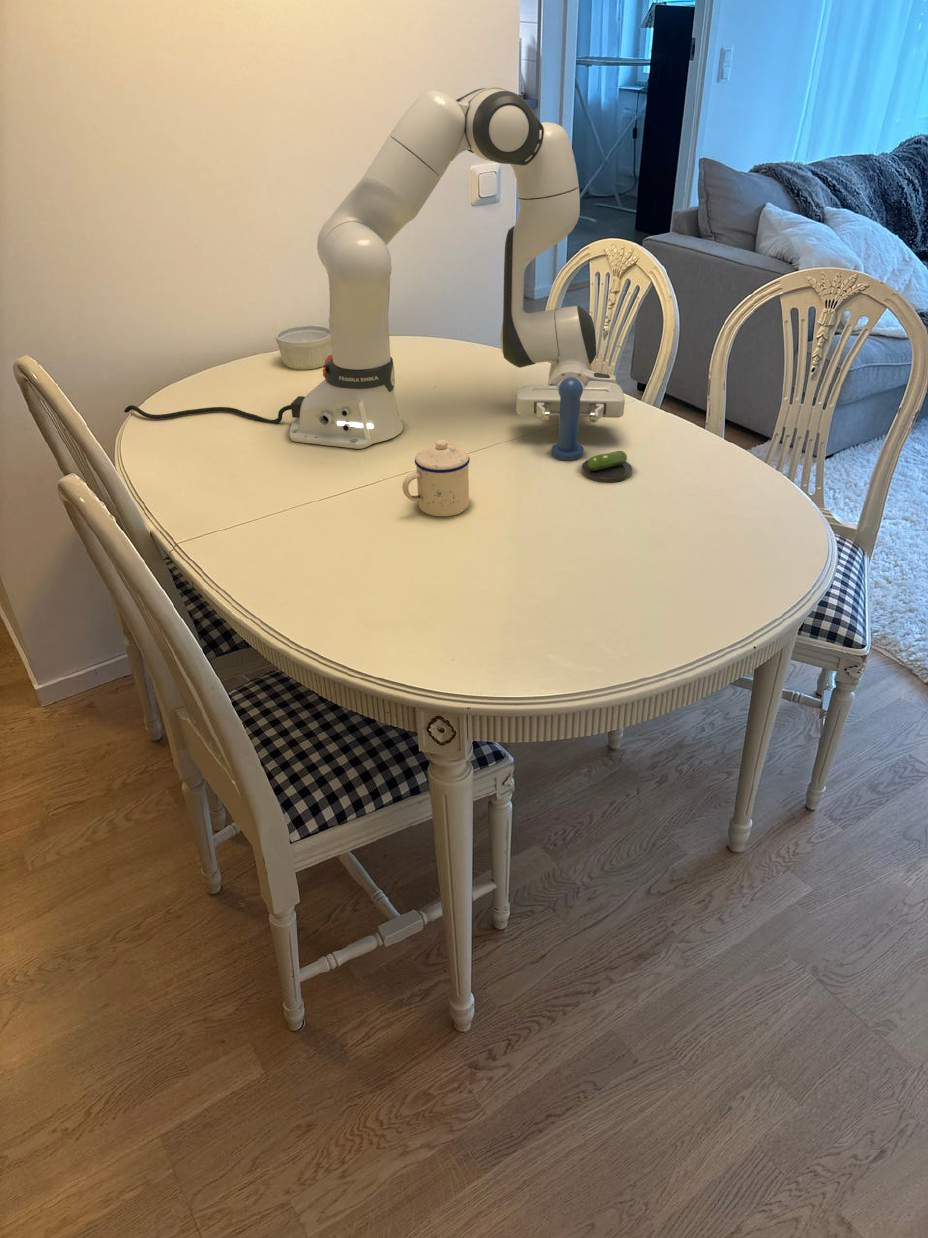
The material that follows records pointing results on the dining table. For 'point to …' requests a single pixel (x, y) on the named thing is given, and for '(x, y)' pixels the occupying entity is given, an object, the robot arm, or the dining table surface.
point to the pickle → (607, 467)
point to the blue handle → (569, 421)
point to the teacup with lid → (441, 480)
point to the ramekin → (304, 346)
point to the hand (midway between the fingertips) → (569, 418)
